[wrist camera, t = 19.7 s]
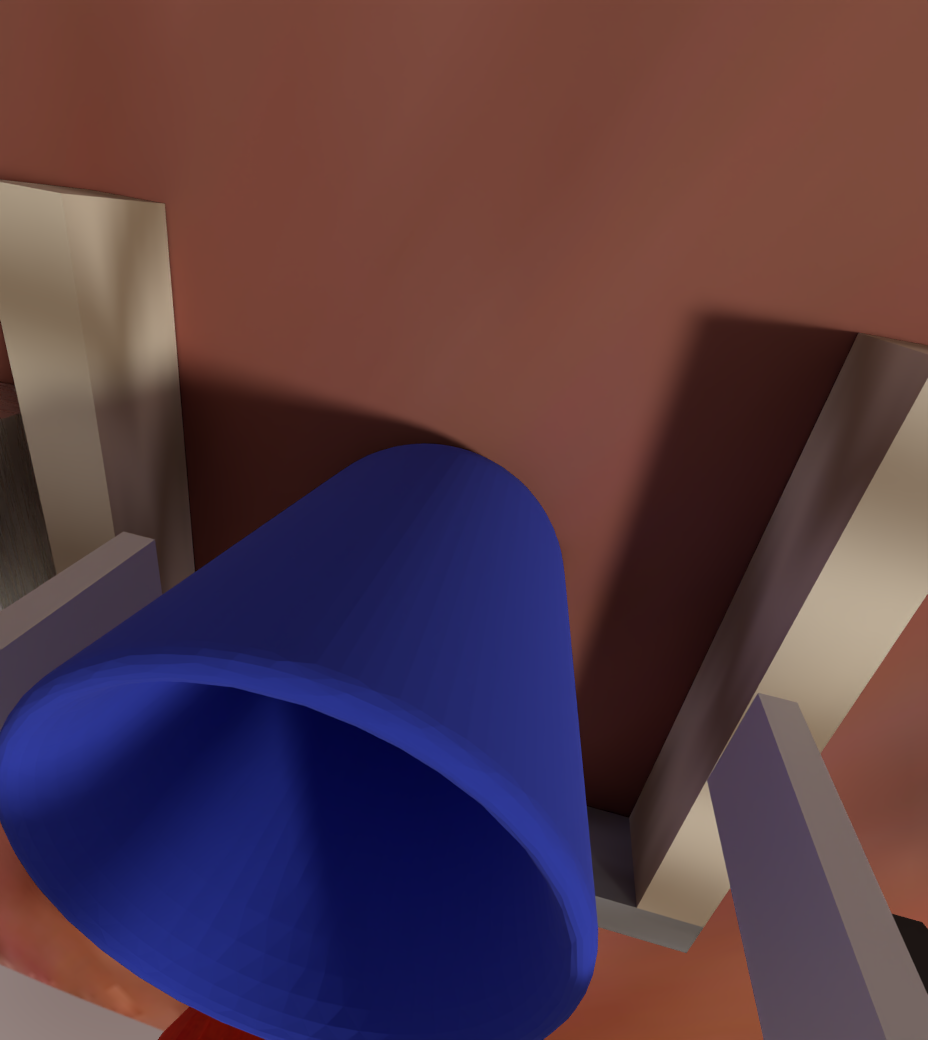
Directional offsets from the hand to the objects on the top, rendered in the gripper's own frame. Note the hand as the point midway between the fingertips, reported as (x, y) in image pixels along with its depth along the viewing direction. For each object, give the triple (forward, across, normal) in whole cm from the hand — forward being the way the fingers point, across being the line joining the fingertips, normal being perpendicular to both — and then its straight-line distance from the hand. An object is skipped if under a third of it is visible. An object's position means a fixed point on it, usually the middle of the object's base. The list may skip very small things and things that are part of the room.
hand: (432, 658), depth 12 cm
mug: (+5, 0, -2) cm, 5 cm away
